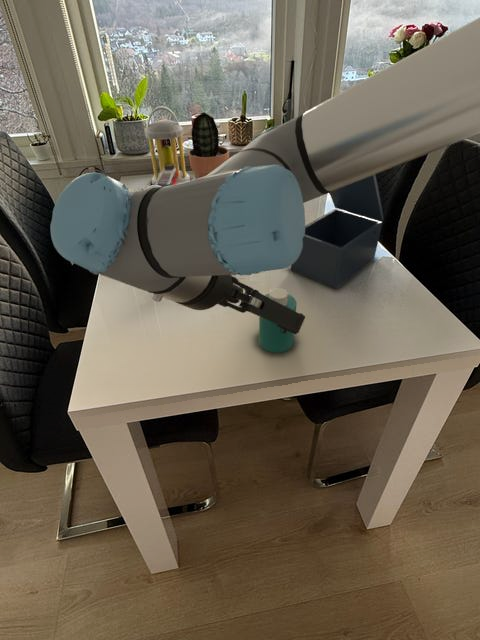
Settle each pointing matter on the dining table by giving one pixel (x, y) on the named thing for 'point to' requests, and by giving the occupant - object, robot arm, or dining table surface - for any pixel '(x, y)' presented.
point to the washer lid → (360, 198)
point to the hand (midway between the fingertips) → (261, 310)
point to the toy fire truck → (167, 178)
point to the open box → (337, 247)
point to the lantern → (167, 153)
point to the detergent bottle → (270, 331)
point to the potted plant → (206, 147)
